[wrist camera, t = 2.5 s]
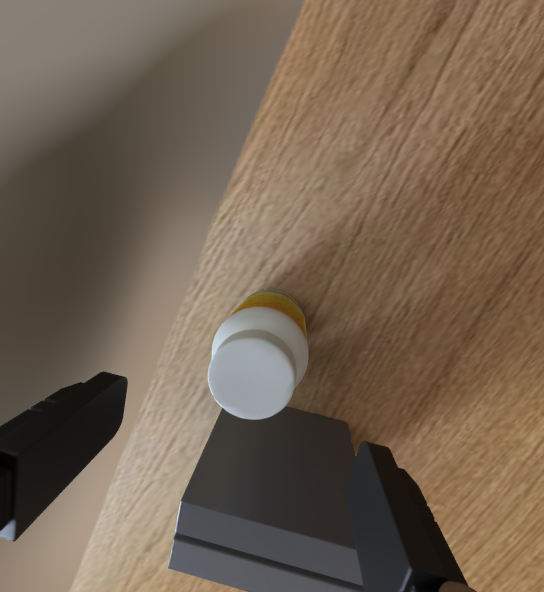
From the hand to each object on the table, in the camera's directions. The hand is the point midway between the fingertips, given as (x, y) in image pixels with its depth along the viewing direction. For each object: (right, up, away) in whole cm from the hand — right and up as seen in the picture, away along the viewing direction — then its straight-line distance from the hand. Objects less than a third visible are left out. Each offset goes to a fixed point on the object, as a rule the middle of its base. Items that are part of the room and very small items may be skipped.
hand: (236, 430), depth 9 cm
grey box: (+2, -7, +14) cm, 16 cm away
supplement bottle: (+1, +3, +13) cm, 13 cm away
